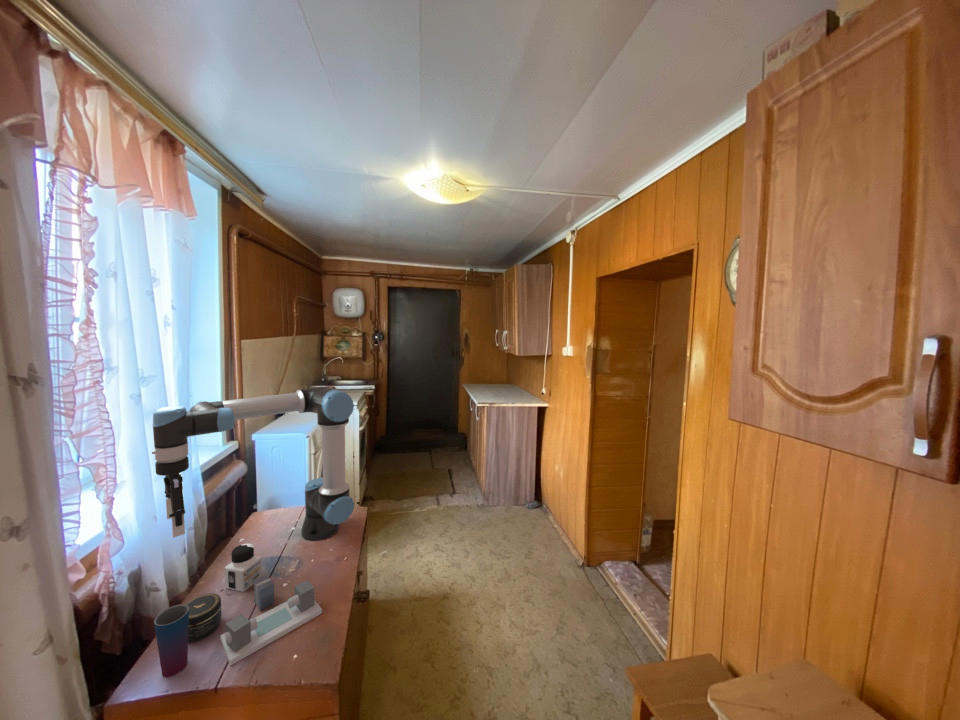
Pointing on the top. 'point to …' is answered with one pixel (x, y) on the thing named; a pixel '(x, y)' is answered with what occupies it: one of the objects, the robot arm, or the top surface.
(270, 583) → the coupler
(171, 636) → the cup
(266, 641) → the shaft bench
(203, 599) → the jar
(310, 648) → the top surface
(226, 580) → the container
